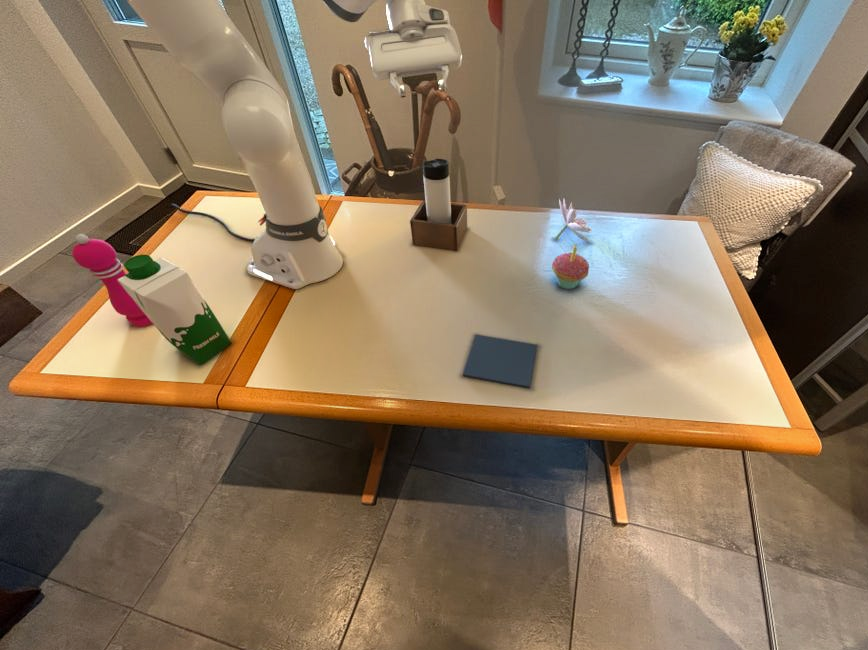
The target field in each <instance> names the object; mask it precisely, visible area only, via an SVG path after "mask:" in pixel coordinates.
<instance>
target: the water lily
mask: <svg viewBox="0 0 868 650" xmlns="http://www.w3.org/2000/svg"><path fill="white" fill-rule="evenodd" d="M558 202H559V203H558V204H559V209H560V212H561V215H562V218H563V220H564V223H565V226H563V228H562V229H561V230H560V231H559V232H558V234H557V235H556V236H555V238H554V240H556V241H557V240H558V239H559V237H560V236H561V235H562V233H564V232H565V230H566V229H567V228H568V229H569V230H570V231H571V232H572V233H573V234H574V235H576V237H578V238H579V239H581V240H582V241H584V242H585V243H588V244H591V242H590V241H589V240H588V238H586V237H585V236H584V235H582V233H591V232H592V229H591V228H590V227H589V226H586V225H587V224H588V222H587V221H585V219H584V218H582V217H577V210H576V209H574V207H573V202H572V201H571V202H570V205H569V207H568V209H567V205H566V199H563V203H562V201H561V198H559V199H558ZM567 210H568V211H567ZM579 232H581V233H579Z"/></svg>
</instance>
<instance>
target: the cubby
mask: <svg viewBox="0 0 868 650" xmlns="http://www.w3.org/2000/svg"><path fill="white" fill-rule="evenodd" d="M451 223H452V224H444V223H436V222H429V221H427V210H426V199H422V200H421V202H420V204H419V205H418V207H417V208H416V210H415V212H414V213H413V215H412V217H411V218H410V220H409V224H410V232H411V233H410V234H411V239H412V245H413V246H420V247H426V248H434V249H441V250H448V251H454V252H455V251H456V252H458V250H459V248H460V246H461V243H462V241H463V239H464V237H465V235H466V232H467V230H468V205H467V204H464V203H463V204H462V203H456V202H451Z"/></svg>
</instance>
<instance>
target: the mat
mask: <svg viewBox="0 0 868 650" xmlns="http://www.w3.org/2000/svg"><path fill="white" fill-rule="evenodd" d="M537 348H538V344H537V343H529V342H524V341H518V340H517V341H516V340H511V339H506V338H499V337H493V336H488V335H483V334H482V335H481V334H474V338H473V341H472V345H471V347H470V350H469V354H468V357H467V360H466V364H465V366H464V369H463V373H462V376H463V377H464V378H470V379H471V378H472V379H477V380H482V381H486V382H487V381H488V382H492V383H493V382H494V383H499V384H503V385H509V386H515V387H520V388H526V389H531V384H532V377H533V372H534V367H535V366H534V365H535V361H536V354H537Z"/></svg>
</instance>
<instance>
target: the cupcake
mask: <svg viewBox="0 0 868 650" xmlns="http://www.w3.org/2000/svg"><path fill="white" fill-rule="evenodd" d="M577 249H578V246H577V243H575V244H574V246H573V250H572V252H565V253H562V254H560V255H557V256H555V258H554V259H553V261H552V264H551V270H552V272H553V274H555V276H556V280H557V284H558V285H559V287H561V288H563V289H566V290H573V289H575V288H576V287H578V285H579V283H580V282H581V281H582V280H584V279H585V278H586V277H588V275H589V272H590V271H589V270H590V264H589V262H588V260H587V259H586V258H585V257H583V256H581V255H580V254H578V253H577Z"/></svg>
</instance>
